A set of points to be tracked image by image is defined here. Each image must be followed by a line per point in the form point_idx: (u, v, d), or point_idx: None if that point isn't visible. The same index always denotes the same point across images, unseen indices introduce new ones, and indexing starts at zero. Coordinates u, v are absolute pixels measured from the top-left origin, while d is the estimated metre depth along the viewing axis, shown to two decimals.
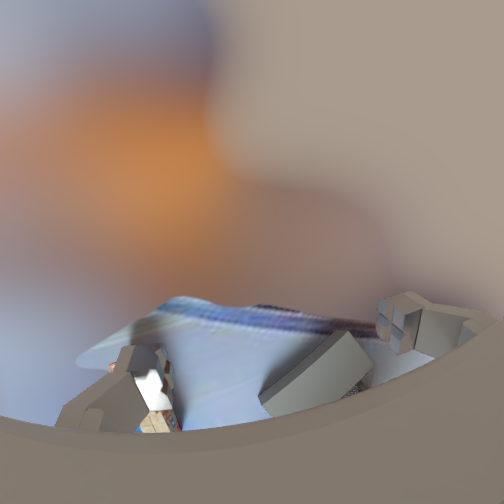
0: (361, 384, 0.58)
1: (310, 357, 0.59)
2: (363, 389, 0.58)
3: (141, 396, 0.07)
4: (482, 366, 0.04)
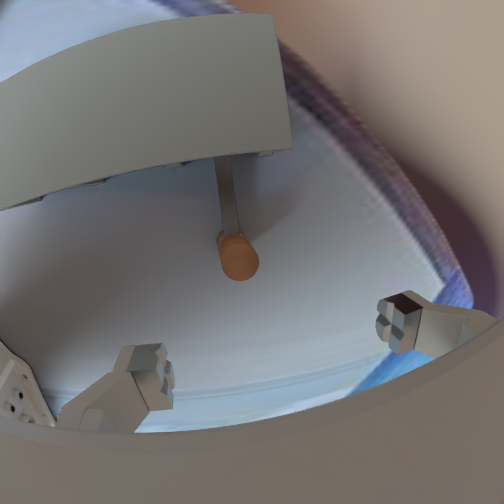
0: (229, 201, 0.22)
1: None
2: (227, 221, 0.23)
3: (141, 396, 0.07)
4: (482, 366, 0.04)
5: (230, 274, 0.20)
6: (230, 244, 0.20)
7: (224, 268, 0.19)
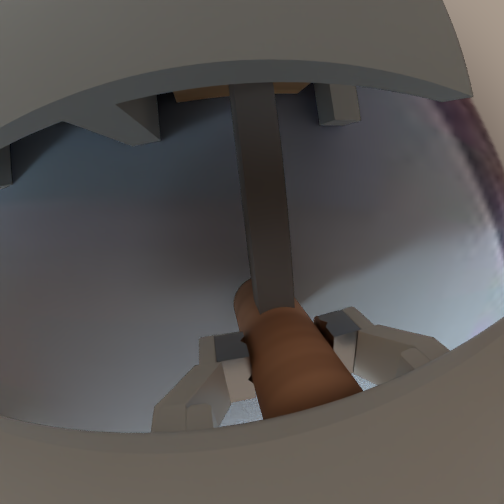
0: (273, 228, 0.08)
1: None
2: (266, 277, 0.09)
3: (227, 388, 0.08)
4: (482, 366, 0.04)
5: None
6: (288, 366, 0.06)
7: None
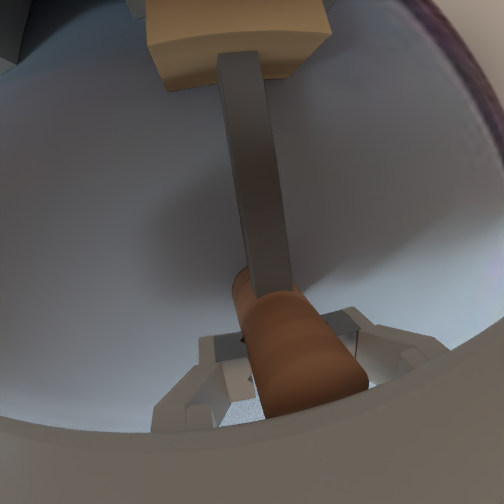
0: (267, 209, 0.08)
1: None
2: (261, 260, 0.09)
3: (226, 388, 0.08)
4: (482, 366, 0.04)
5: None
6: (286, 349, 0.06)
7: None
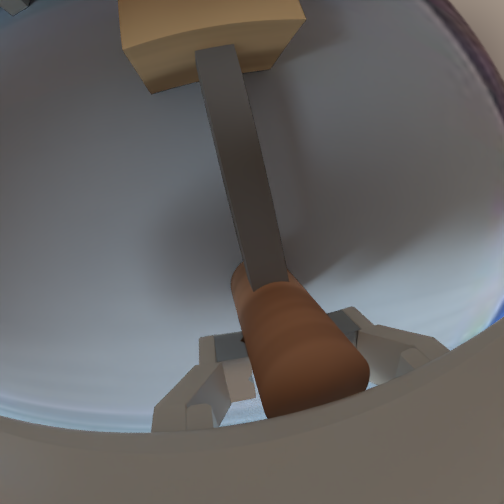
0: (255, 199, 0.08)
1: None
2: (254, 252, 0.09)
3: (227, 388, 0.08)
4: (482, 366, 0.04)
5: None
6: (281, 339, 0.06)
7: (272, 415, 0.05)
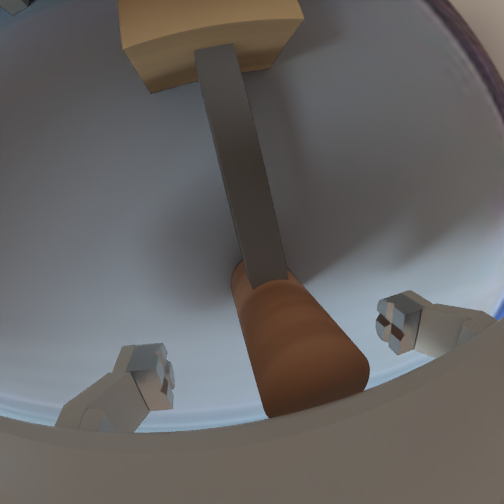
0: (255, 198, 0.08)
1: None
2: (253, 250, 0.09)
3: (141, 396, 0.07)
4: (482, 366, 0.04)
5: None
6: (281, 336, 0.06)
7: (271, 413, 0.05)
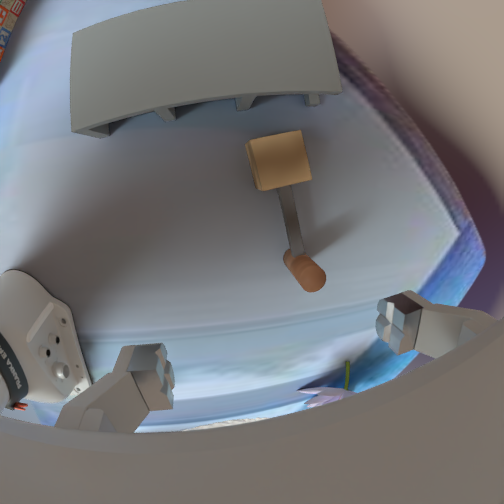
0: (295, 231, 0.29)
1: None
2: (295, 246, 0.29)
3: (141, 396, 0.07)
4: (482, 366, 0.04)
5: (306, 288, 0.26)
6: (304, 266, 0.27)
7: (302, 285, 0.26)
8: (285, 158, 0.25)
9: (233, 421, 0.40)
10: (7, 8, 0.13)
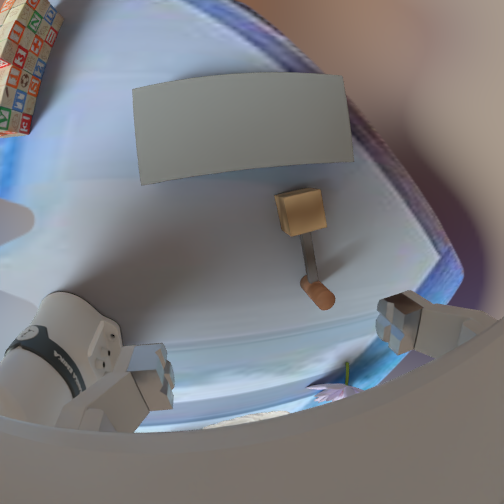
0: (312, 264, 0.38)
1: None
2: (311, 275, 0.38)
3: (142, 396, 0.07)
4: (482, 366, 0.04)
5: (321, 307, 0.35)
6: (319, 291, 0.36)
7: (318, 305, 0.35)
8: (308, 211, 0.34)
9: (253, 415, 0.48)
10: (42, 38, 0.21)
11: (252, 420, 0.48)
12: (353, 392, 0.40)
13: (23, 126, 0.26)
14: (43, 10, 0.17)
